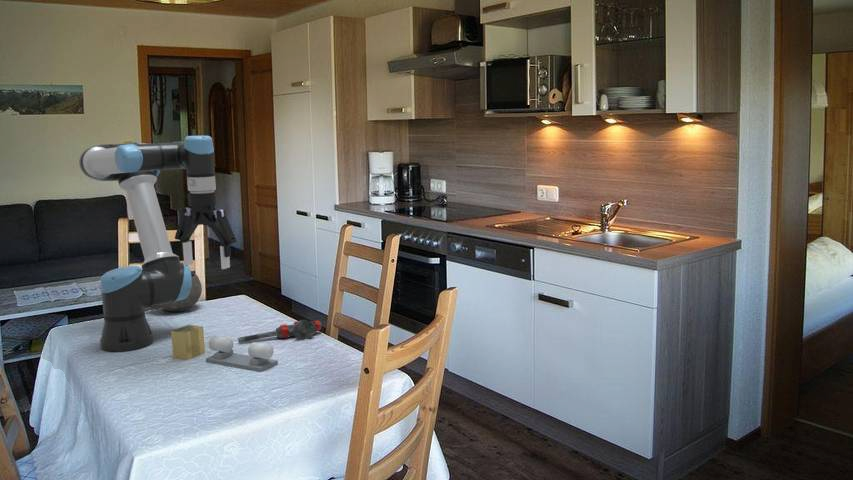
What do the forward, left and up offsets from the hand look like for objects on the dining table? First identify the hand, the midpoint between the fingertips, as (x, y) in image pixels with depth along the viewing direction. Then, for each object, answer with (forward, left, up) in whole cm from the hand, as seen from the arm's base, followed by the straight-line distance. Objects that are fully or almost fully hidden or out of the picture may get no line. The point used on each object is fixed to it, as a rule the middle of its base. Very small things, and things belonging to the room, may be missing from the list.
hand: (206, 266), depth 209 cm
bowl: (-51, +34, -27) cm, 67 cm away
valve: (+5, +23, -27) cm, 36 cm away
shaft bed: (+12, -2, -26) cm, 29 cm away
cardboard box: (-7, -3, -26) cm, 27 cm away
